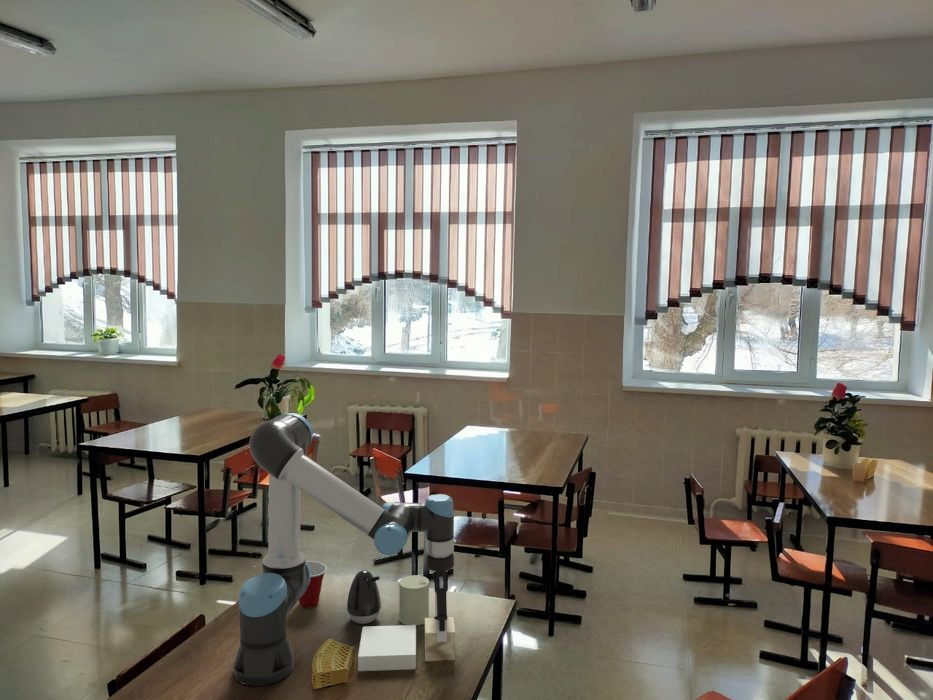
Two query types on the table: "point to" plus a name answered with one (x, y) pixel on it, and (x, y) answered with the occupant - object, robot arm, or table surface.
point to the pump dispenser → (364, 598)
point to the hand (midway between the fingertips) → (441, 627)
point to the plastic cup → (313, 584)
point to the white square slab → (387, 648)
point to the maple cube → (439, 649)
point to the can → (414, 600)
